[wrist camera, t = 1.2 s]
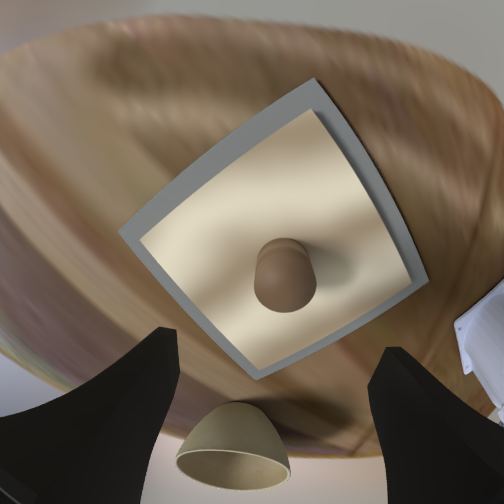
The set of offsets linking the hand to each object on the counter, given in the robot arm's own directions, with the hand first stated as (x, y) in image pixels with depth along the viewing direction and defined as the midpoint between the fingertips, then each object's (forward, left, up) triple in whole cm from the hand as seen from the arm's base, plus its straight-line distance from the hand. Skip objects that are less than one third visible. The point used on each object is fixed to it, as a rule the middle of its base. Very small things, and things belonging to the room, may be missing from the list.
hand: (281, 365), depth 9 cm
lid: (0, 0, -10) cm, 10 cm away
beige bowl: (-12, +13, -10) cm, 20 cm away
